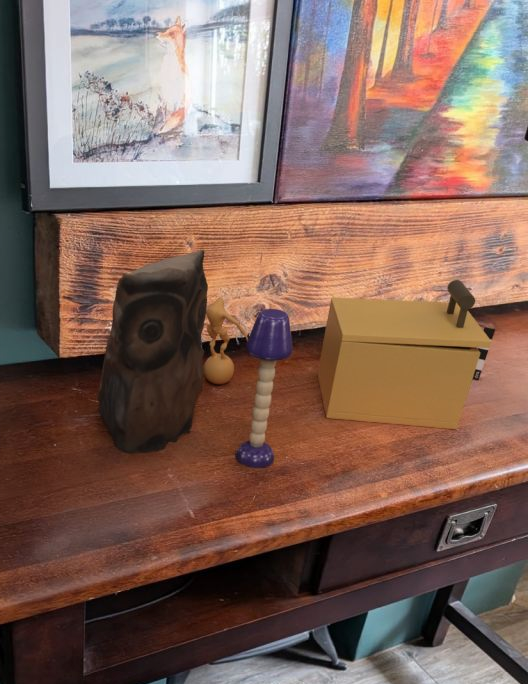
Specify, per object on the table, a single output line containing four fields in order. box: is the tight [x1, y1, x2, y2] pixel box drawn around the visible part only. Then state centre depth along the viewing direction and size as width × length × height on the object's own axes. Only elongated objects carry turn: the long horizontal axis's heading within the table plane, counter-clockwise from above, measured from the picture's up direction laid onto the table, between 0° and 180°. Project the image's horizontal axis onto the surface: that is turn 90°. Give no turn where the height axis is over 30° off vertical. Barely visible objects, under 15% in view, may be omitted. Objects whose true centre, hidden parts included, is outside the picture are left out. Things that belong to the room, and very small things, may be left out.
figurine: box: [203, 296, 249, 385], centre depth 95 cm, size 8×6×12 cm
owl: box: [96, 249, 209, 455], centre depth 81 cm, size 13×13×20 cm
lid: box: [330, 279, 492, 349], centre depth 90 cm, size 17×14×5 cm
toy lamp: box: [235, 308, 293, 469], centre depth 78 cm, size 5×5×17 cm
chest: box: [317, 303, 480, 430], centre depth 94 cm, size 16×14×10 cm
